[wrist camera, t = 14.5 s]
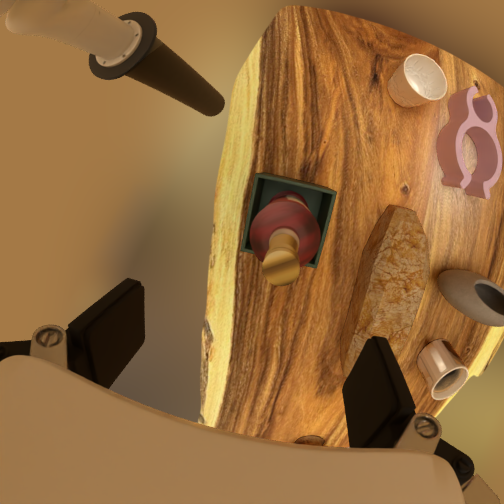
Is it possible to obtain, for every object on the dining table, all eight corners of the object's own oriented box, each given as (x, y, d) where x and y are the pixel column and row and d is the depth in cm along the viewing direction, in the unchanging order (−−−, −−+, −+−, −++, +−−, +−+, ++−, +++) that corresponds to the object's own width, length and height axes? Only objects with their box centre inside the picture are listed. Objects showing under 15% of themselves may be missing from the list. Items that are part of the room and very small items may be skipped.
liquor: (260, 198, 46) (213, 239, 19) (300, 182, 44) (312, 201, 17) (276, 237, 47) (253, 324, 21) (315, 222, 46) (344, 296, 19)
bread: (375, 368, 53) (385, 398, 44) (331, 366, 54) (335, 398, 45) (423, 211, 42) (450, 222, 33) (371, 201, 43) (391, 209, 34)
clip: (440, 84, 34) (457, 76, 27) (484, 108, 33) (503, 104, 26) (431, 180, 40) (450, 183, 34) (476, 198, 39) (496, 203, 32)
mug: (409, 373, 53) (423, 404, 42) (421, 334, 49) (440, 364, 39) (443, 366, 51) (459, 394, 40) (457, 328, 47) (478, 354, 37)
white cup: (418, 75, 34) (442, 59, 25) (424, 113, 37) (450, 104, 27) (381, 69, 36) (399, 49, 26) (386, 108, 38) (408, 95, 28)
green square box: (263, 172, 45) (255, 173, 35) (327, 186, 44) (337, 191, 34) (251, 233, 48) (240, 250, 38) (312, 247, 47) (316, 268, 37)
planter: (486, 270, 43) (535, 307, 25) (475, 298, 45) (518, 342, 27) (429, 251, 44) (482, 291, 26) (417, 284, 46) (461, 335, 29)
